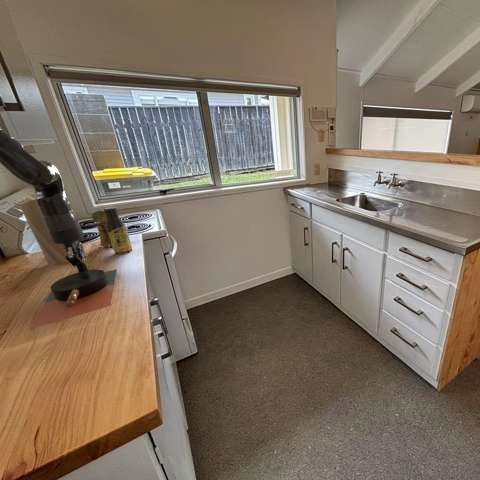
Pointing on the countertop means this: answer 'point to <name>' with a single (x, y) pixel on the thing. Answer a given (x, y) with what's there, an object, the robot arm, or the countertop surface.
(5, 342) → the countertop surface
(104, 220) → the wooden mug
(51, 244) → the tube
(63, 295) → the pan
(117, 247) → the sauce bottle
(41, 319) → the board
